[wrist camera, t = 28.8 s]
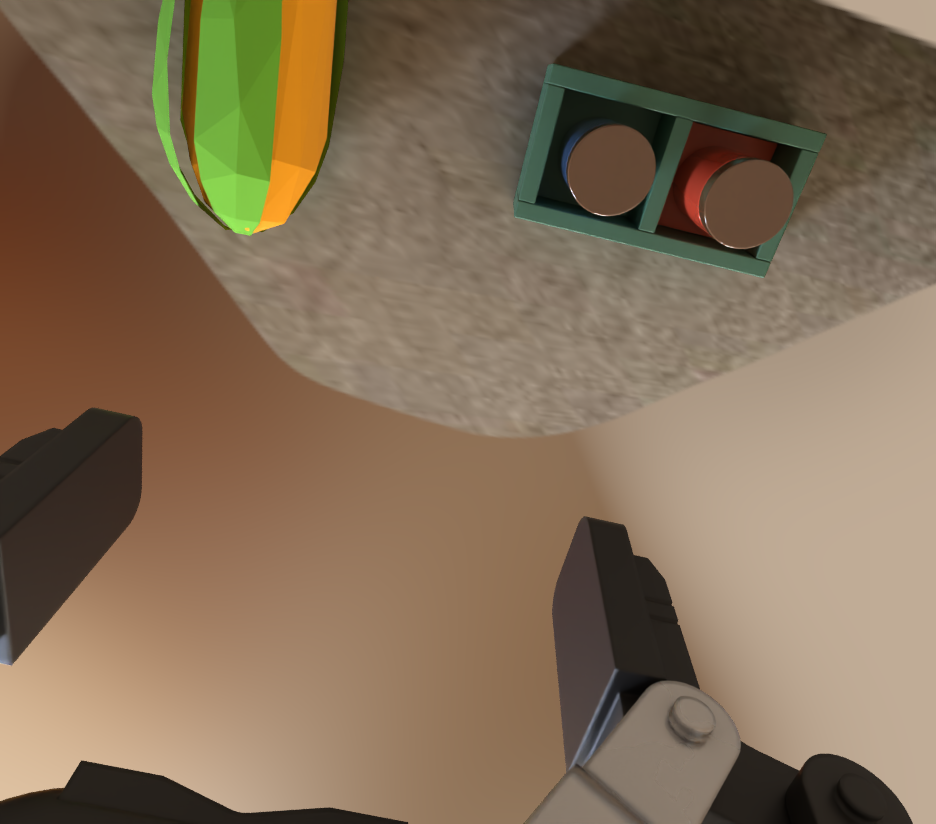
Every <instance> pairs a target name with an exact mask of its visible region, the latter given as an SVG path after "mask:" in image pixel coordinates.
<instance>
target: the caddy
mask: <svg viewBox="0 0 936 824" xmlns="http://www.w3.org/2000/svg"><path fill="white" fill-rule="evenodd" d="M593 116H602V117H607V118H610V119H613V120H615V121H617V122H620V123H622V124H625V125H627V126H629V127H632V128H634V129H636V130H637V131H639V132H640V133H641V134H643V135H644V136H645V137H646V139H647V140H648V141H649V143H650V145H651V146H652V149H653V151H654V155H655V160H656V173H655V178H654V182H653V184H652V187H651V189H650V191H649V192H648V194H647V195H646V197H645V198H644V199H643V200H642V201H641V202H640V203H639V204H638V205H637V206H636V207H634V208H633V209H631V210H630V211H628V212H626V213H623V214H620V215H615V216H601V215H597V214H593V213H591V212H589V211H587V210H586V209H584V208H583V207H582V206H581V205H580V204H579V203H578V202H577V201H576V200H575V198H574V196H573V195H572V193H571V191H570V189H569V188H568V186H567V184H566V182H565V181H564V179H563V177H562V175H561V173H560V170H559V166H558V150H559V146H560V143H561V141H562V139H563V137H564V135H565V134H566V132H567V131H568V130H569V129H570V128H571V127H572V126H573V125H574V124H576V123H577V122H579V121H581V120H582V119H585V118H588V117H593ZM826 135H827V134H825V133H821V132H817V131H814V130H810V129H806V128H802V127H798V126H794V125H790V124H786V123H783V122H779V121H775V120H771V119H767V118H763V117H759V116H756V115H752V114H748V113H744V112H740V111H736V110H732V109H729V108H725V107H721V106H717V105H713V104H709V103H705V102H702V101H698V100H694V99H690V98H686V97H682V96H678V95H675V94H671V93H667V92H663V91H659V90H655V89H651V88H648V87H644V86H640V85H636V84H632V83H628V82H624V81H621V80H617V79H613V78H609V77H605V76H601V75H597V74H594V73H590V72H586V71H582V70H578V69H574V68H570V67H567V66H563V65H559V64H555V63H553V64H549V65H548V67H547V71H546V75H545V79H544V83H543V87H542V91H541V95H540V99H539V103H538V107H537V111H536V115H535V119H534V123H533V127H532V131H531V135H530V139H529V143H528V147H527V151H526V155H525V159H524V163H523V167H522V171H521V175H520V179H519V182H518V186H517V190H516V194H515V198H514V202H513V205H514V217H516V218H520V219H524V220H529V221H533V222H537V223H541V224H545V225H549V226H553V227H557V228H561V229H565V230H569V231H573V232H578V233H582V234H586V235H590V236H594V237H598V238H602V239H606V240H610V241H614V242H618V243H623V244H627V245H631V246H635V247H639V248H643V249H647V250H651V251H655V252H659V253H663V254H667V255H672V256H676V257H680V258H684V259H688V260H692V261H696V262H700V263H704V264H708V265H712V266H716V267H721V268H725V269H729V270H733V271H737V272H741V273H745V274H749V275H753V276H757V277H761V278H764V277H765V275H766V273H767V270H768V268H769V266H770V261H772V259H773V256H774V254H775V252H776V250H777V247H778V245H779V243H780V240H781V238H782V236H783V233H784V231H785V229H786V227H787V224H788V222H789V220H790V217H791V215H792V213H793V211H794V208H795V206H796V204H797V201H798V199H799V197H800V194H801V192H802V190H803V188H804V185H805V183H806V181H807V178H808V176H809V174H810V172H811V169H812V167H813V165H814V162H815V160H816V158H817V155H818V153H819V151H820V149H821V147H822V145H823V142H824V140H825V138H826ZM708 146H723V147H727V148H730V149H733V150H736V151H739V152H742V153H745V154H748V155H751V156H754V157H757V158H760V159H763V160H766V161H769V162H772V163H774V164H776V165H778V166H779V167H780V168H782V169H783V170H784V171H785V173H786V174H787V175H788V177H789V179H790V181H791V184H792V187H793V193H794V200H793V206H792V210H791V213H790V216H789V218H788V220H787V222H786V223H785V225H784V226H783V228H782V229H781V230H780V231H779V232H778V233H777V234H776V235H775V236H774V237H773V238H771V239H770V240H768V241H767V242H765V243H763V244H761V245H759V246H756V247H752V248H748V249H735V248H730V247H727V246H725V245H723V244H721V243H719V242H718V241H717V240H715V239H714V238H713V237H712V236H710V235H709V234H708V233H706V232H705V231H704V230H703V229H701V228H700V227H699V226H697V225H696V224H695V223H694V222H692V221H691V220H690V219H688V218H687V217H686V216H685V215H684V214H682V213H681V212H680V210H679V209H678V207H677V206H676V203H675V201H674V197H673V182H674V178H675V175H676V173H677V170H678V169H679V167H680V165H681V164H682V163H683V161H684V160H685V159H686V158H687V157H688V156H690V155H691V154H692V153H694V152H695V151H697V150H699V149H702V148H704V147H708Z"/></svg>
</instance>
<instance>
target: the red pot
mask: <svg viewBox="0 0 936 824" xmlns="http://www.w3.org/2000/svg"><path fill="white" fill-rule="evenodd" d="M673 197H674V201H675V203H676V206H677V207H678V209H679V210H680V212H681V213H682V214H684V215H685V216H686V217H687V218H688V219H690V220H691V221H692V222H694V223H695V224H696V225H697V226H699V227H700V228H701V229H703V230H704V231H705V232H706V233H708V234H709V235H710V236H712V237H713V238H714V239H715V240H717V241H718V242H719V243H721V244H723V245H725V246H727V247H730V248H735V249H748V248H752V247H756V246H759V245H761V244H763V243H765V242H767V241H768V240H770V239H771V238H773V237H774V236H775V235H776V234H777V233H778V232H779V231H780V230H781V229H782V228H783V226H784V225H785V223H786V222H787V220H788V218H789V216H790V213H791V210H792V206H793V200H794V193H793V187H792V184H791V181H790V179H789V177H788V175H787V174H786V173H785V171H784V170H783V169H782V168H780V167H779V166H778V165H776V164H774V163H772V162H769V161H766V160H763V159H760V158H757V157H754V156H751V155H748V154H745V153H742V152H739V151H736V150H733V149H730V148H727V147H723V146H708V147H704V148H702V149H699V150H697V151H695V152H694V153H692V154H691V155H690V156H688V157H687V158H686V159H685V160H684V161H683V163H682V164H681V165H680V167H679V169H678V170H677V173H676V175H675V178H674V182H673Z"/></svg>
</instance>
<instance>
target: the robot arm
mask: <svg viewBox="0 0 936 824" xmlns="http://www.w3.org/2000/svg"><path fill="white" fill-rule="evenodd" d="M141 489H142V424H141V421H140V419H139V418H138V417H135V416H131V415H126V414H121V413H117V412H112V411H108V410H103V409H98V408H90V409H88V410H87V411H86V412H84V413H83V414H82V415H81V416H79V417H78V418H77V419H76V420H74V421H73V422H72V423H71V424H69V425H68V426H67V427H66V428H64V429H63V430H60V429H56V428H52V429H49V430H46V431H44V432H41V433H38V434H36V435H33V436H30V437H28V438H25V439H22V440H21V441H19V442H18V443H17V444H15V445H14V446H13V447H11V448H10V449H9V450H8V451H6V452H5V453H4V454H2V455H1V456H0V663H2V664H7V665H13V663H14V662H15V661H16V660H17V659H18V657H19V656H20V655H21V654H22V653H23V651H24V650H25V649H26V648H27V647H28V645H29V644H30V643H31V642H32V640H33V639H34V638H35V637H36V636H37V635H38V633H39V632H40V631H41V630H42V629H43V627H44V626H45V625H46V624H47V623H48V621H49V620H50V619H51V618H52V617H53V615H54V614H55V613H56V612H57V611H58V609H59V608H60V607H61V606H62V605H63V603H64V602H65V601H66V600H67V599H68V597H69V596H70V595H71V594H72V593H73V591H74V590H75V589H76V588H77V587H78V585H79V584H80V583H81V582H82V581H83V579H84V578H85V577H86V576H87V575H88V573H89V572H90V571H91V570H92V569H93V567H94V566H95V565H96V564H97V563H98V561H99V560H100V559H101V558H102V557H103V556H104V554H105V553H106V552H107V551H108V549H109V548H110V547H111V546H112V545H113V543H114V542H115V541H116V540H117V539H118V538H119V536H120V535H121V534H122V533H123V531H124V530H125V529H126V528H127V527H128V525H129V524H130V523H131V521H132V519H133V518H134V515H135V513H136V511H137V508H138V505H139V502H140V498H141ZM671 604H672V600H671V597H670V594H669V590H668V587H667V584H666V582H665V579H664V578H663V577H662V575H661V574H660V573H659V572H658V570H657V569H656V568H655V567H654V565H653V564H652V563H651V562H650V560H649V559H648V558H645V557H640V556H635V555H633V552H632V548H631V544H630V541H629V537H628V533H627V530H626V527H625V526H624V525H622V524H617V523H613V522H608V521H604V520H599V519H595V518H590V517H583V518H582V519H581V520H580V522H579V524H578V526H577V529H576V532H575V534H574V537H573V540H572V543H571V545H570V548H569V551H568V553H567V556H566V559H565V562H564V564H563V567H562V570H561V572H560V575H559V578H558V581H557V584H556V588H555V592H554V599H553V609H552V615H553V627H554V637H555V649H556V659H557V672H558V681H559V682H558V683H559V694H560V705H561V716H562V728H563V738H564V750H565V761H566V772H567V773H566V774H565V775H564V776H563V777H562V778H561V780H560V781H559V782H558V783H557V784H556V785H555V787H554V788H553V789H552V790H551V791H550V793H549V794H548V795H547V796H546V797H545V799H544V800H543V801H542V802H541V803H540V805H539V806H538V807H537V808H536V809H535V810H534V812H533V813H532V814H531V815H530V816H529V818H528V819H527V820H526V821H525V823H524V824H913V823H912V821H911V819H910V817H909V815H908V813H907V811H906V810H905V808H904V806H903V805H902V803H901V802H900V801H899V799H898V798H897V797H896V795H895V794H894V793H893V792H892V791H891V790H890V789H889V788H888V787H887V786H886V785H885V784H884V783H883V782H882V781H881V780H880V779H879V778H877V777H876V776H875V775H874V774H873V773H871V772H870V771H868V770H867V769H865V768H864V767H862V766H861V765H859V764H857V763H855V762H853V761H851V760H849V759H847V758H844V757H841V756H837V755H833V754H817V755H814V756H812V757H811V758H809V759H808V760H807V761H806V762H805V764H804V765H803V767H802V768H801V770H800V771H799V770H797V769H794V768H792V767H790V766H788V765H786V764H784V763H782V762H780V761H778V760H775V759H774V758H772V757H770V756H768V755H766V754H763V753H761V752H759V751H757V750H755V749H753V748H752V747H750V746H748V745H746V744H745V743H743V742H742V741H740V736H739V733H738V730H737V728H736V726H735V723H734V722H733V720H732V719H731V717H730V716H729V714H728V713H727V712H726V711H725V709H724V708H723V707H722V706H721V705H720V704H718V702H717V701H715V700H714V699H713V698H712V697H710V696H709V695H708V694H706V693H704V692H703V691H701V690H700V688H699V685H698V681H697V678H696V675H695V672H694V669H693V666H692V663H691V660H690V656H689V653H688V650H687V647H686V644H685V641H684V638H683V635H682V631H681V628H680V625H677V622H678V619H677V616H676V613H675V609H674V607H673V606H672V605H671ZM0 824H408V822H403V821H398V820H393V819H388V818H382V817H377V816H371V815H366V814H361V813H356V812H351V811H345V810H340V809H335V808H315V809H301V810H287V811H272V812H258V813H240V812H236V811H233V810H231V809H229V808H227V807H225V806H223V805H221V804H219V803H217V802H215V801H213V800H210V799H209V798H206V797H204V796H202V795H201V794H199V793H197V792H194V791H193V790H190V789H188V788H186V787H184V786H182V785H180V784H178V783H176V782H174V781H172V780H170V779H168V778H166V777H164V776H161V775H155V774H150V773H145V772H139V771H134V770H129V769H124V768H119V767H113V766H108V765H103V764H97V763H92V762H87V761H81V762H80V763H79V765H78V767H77V768H76V770H75V772H74V773H73V775H72V776H71V778H70V780H69V781H68V783H67V785H66V786H65V788H57V789H49V790H43V791H37V792H31V793H27V794H24V795H20V796H16V797H12V798H9V799H5V800H3V801H0Z"/></svg>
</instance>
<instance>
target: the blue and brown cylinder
mask: <svg viewBox="0 0 936 824" xmlns="http://www.w3.org/2000/svg"><path fill="white" fill-rule="evenodd" d="M558 166H559V170H560V173H561V175H562V177H563V179H564V181H565V182H566V184H567V186H568V188H569V189H570V191H571V193H572V195H573V196H574V198H575V200H576V201H577V202H578V203H579V204H580V205H581V206H582V207H583V208H584V209H586V210H587V211H589V212H591V213H593V214H597V215H601V216H615V215H620V214H623V213H626V212H628V211H630V210H631V209H633V208H634V207H636V206H637V205H638V204H639V203H640V202H641V201H642V200H643V199H644V198H645V197H646V195H647V194H648V192H649V191H650V189H651V187H652V184H653V182H654V178H655V173H656V160H655V155H654V151H653V149H652V146H651V145H650V143H649V141H648V140H647V139H646V137H645V136H644V135H643V134H641V133H640V132H639V131H637V130H636V129H634V128H632V127H629V126H627V125H625V124H622V123H620V122H617V121H615V120H613V119H610V118H607V117H602V116H593V117H588V118H585V119H582V120H581V121H579V122H577V123H576V124H574V125H573V126H572V127H571V128H570V129H569V130H568V131H567V132H566V134H565V135H564V137H563V139H562V141H561V143H560V146H559V150H558Z"/></svg>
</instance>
